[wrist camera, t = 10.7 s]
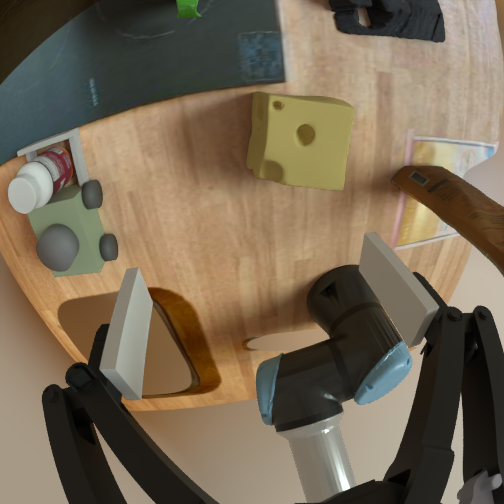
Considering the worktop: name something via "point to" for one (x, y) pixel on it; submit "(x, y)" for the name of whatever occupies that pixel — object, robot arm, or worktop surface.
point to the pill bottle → (40, 179)
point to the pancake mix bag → (458, 207)
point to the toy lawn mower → (71, 219)
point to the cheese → (300, 140)
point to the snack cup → (187, 8)
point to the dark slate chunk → (392, 18)
